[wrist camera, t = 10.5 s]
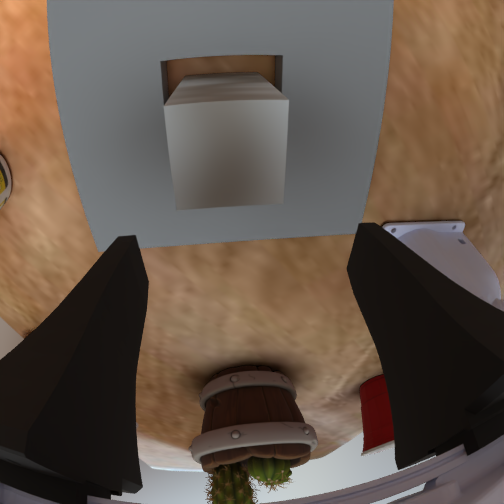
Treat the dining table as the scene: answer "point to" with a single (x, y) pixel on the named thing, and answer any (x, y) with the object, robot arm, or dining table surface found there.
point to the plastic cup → (376, 416)
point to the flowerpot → (250, 432)
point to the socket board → (156, 95)
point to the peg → (227, 141)
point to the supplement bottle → (4, 182)
